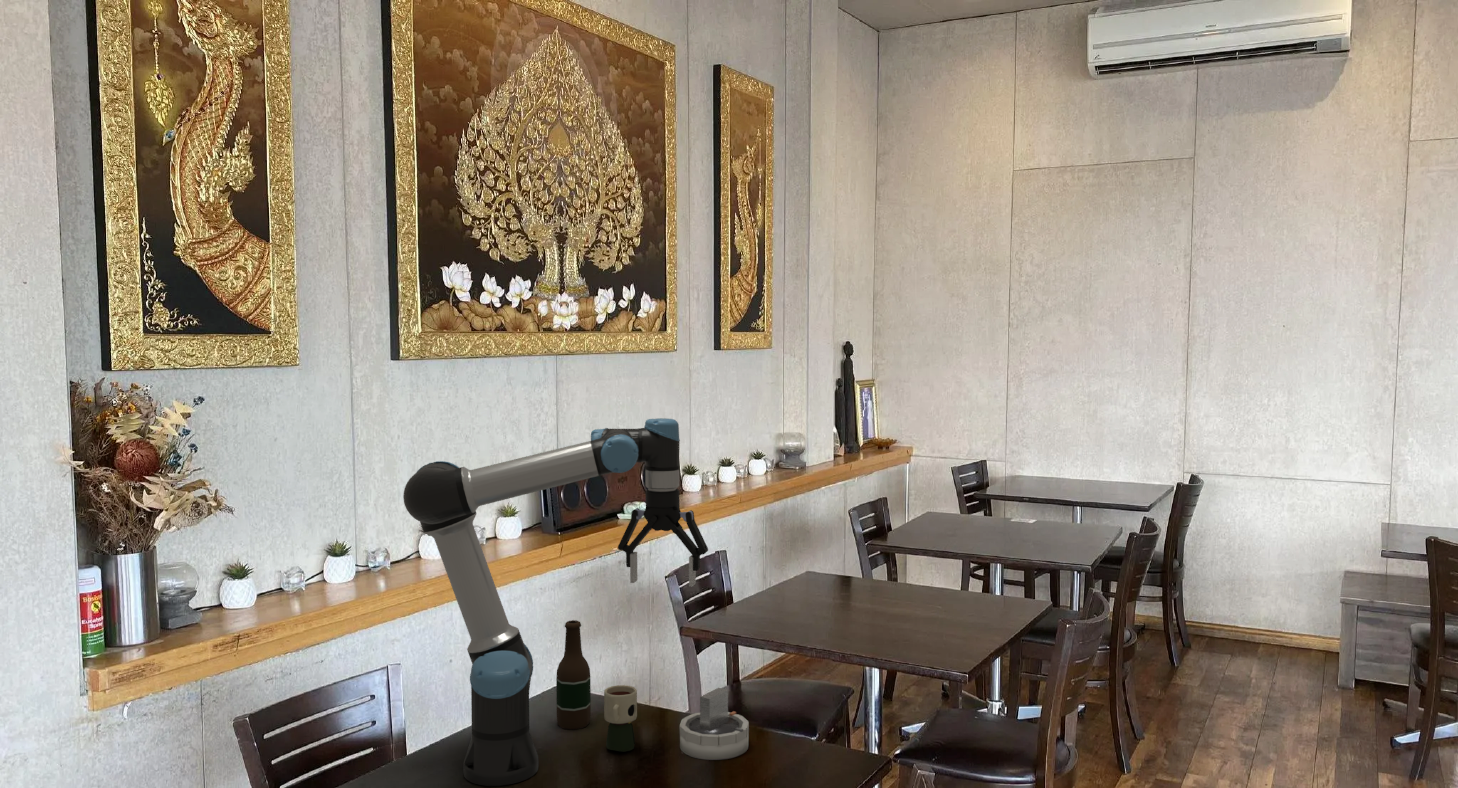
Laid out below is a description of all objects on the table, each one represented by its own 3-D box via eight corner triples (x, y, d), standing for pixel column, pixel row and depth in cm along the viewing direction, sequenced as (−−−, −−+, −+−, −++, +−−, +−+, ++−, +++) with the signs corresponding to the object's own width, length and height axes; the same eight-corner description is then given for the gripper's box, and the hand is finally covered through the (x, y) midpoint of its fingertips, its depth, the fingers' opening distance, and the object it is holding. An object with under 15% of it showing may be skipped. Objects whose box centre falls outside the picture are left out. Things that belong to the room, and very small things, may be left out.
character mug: (631, 759, 219) (631, 699, 218) (598, 758, 220) (598, 698, 219) (641, 740, 230) (641, 682, 229) (610, 738, 230) (610, 681, 230)
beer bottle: (556, 718, 242) (555, 617, 241) (589, 716, 244) (589, 616, 242) (557, 731, 235) (556, 627, 233) (591, 728, 236) (590, 625, 235)
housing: (665, 748, 225) (665, 724, 224) (708, 727, 237) (708, 704, 236) (721, 765, 216) (721, 740, 215) (762, 742, 228) (762, 718, 227)
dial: (720, 745, 218) (720, 705, 218) (679, 733, 225) (678, 695, 224) (749, 728, 227) (749, 690, 227) (708, 718, 234) (708, 681, 233)
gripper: (721, 488, 229) (721, 582, 230) (615, 484, 235) (615, 576, 236) (712, 493, 222) (712, 590, 223) (603, 489, 228) (604, 584, 229)
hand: (662, 583), depth 230 cm, fingers open, 13 cm apart
